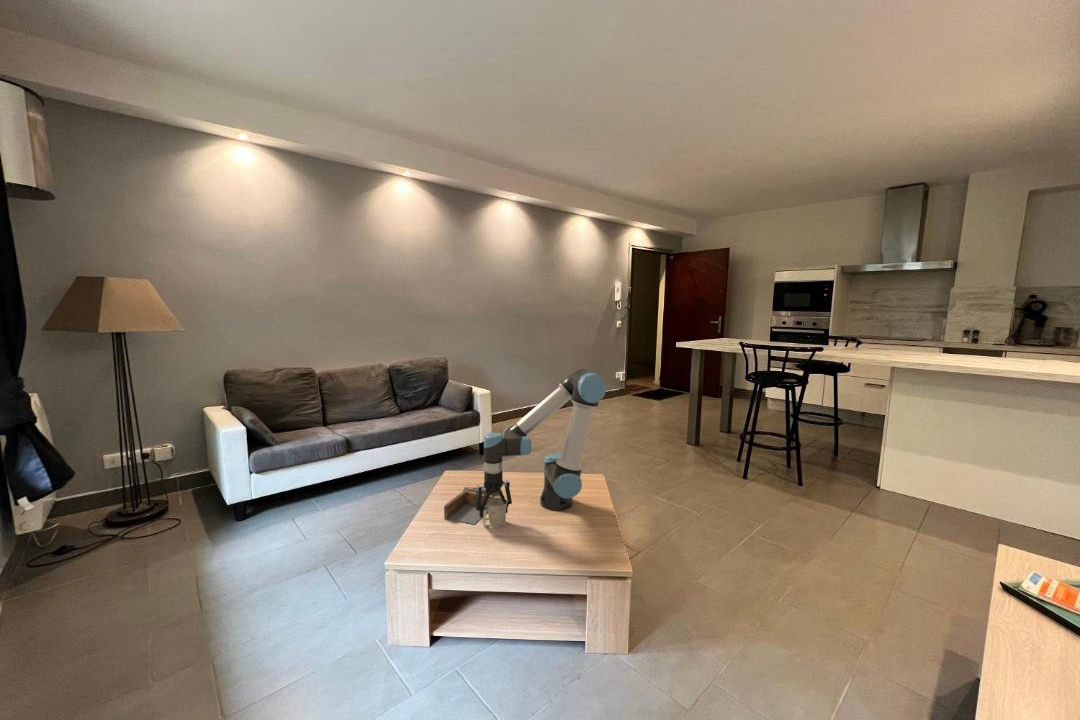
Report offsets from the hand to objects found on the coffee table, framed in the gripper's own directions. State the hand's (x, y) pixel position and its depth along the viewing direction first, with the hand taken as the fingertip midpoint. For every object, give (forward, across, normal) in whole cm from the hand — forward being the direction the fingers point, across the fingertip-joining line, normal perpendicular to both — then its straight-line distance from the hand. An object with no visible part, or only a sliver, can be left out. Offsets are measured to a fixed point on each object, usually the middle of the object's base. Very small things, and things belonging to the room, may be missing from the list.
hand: (493, 522), depth 178 cm
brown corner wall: (+1, +7, -13) cm, 14 cm away
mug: (+1, +1, 0) cm, 1 cm away
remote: (+1, -3, -31) cm, 31 cm away
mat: (+1, +7, -12) cm, 14 cm away
